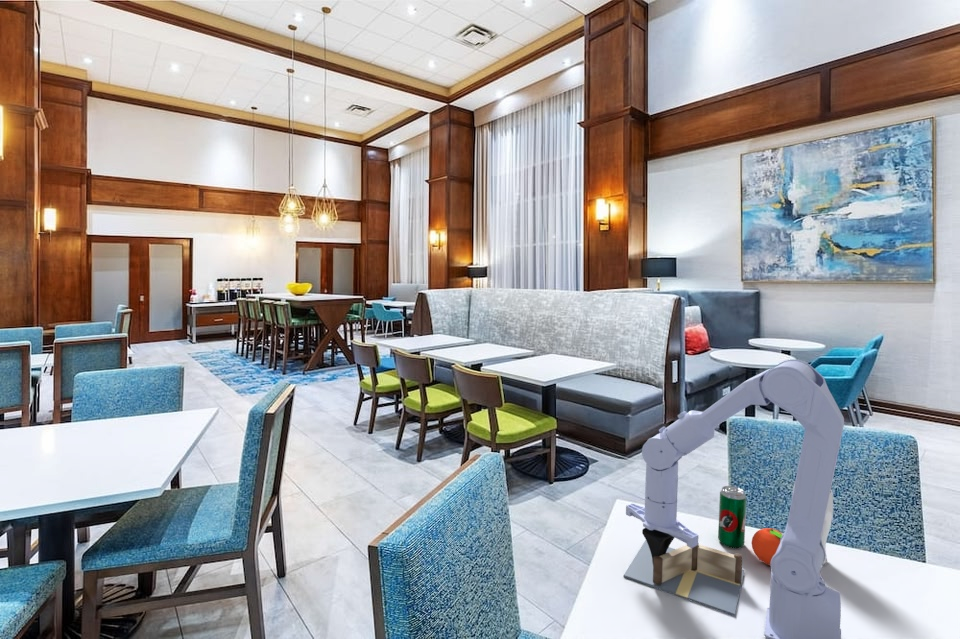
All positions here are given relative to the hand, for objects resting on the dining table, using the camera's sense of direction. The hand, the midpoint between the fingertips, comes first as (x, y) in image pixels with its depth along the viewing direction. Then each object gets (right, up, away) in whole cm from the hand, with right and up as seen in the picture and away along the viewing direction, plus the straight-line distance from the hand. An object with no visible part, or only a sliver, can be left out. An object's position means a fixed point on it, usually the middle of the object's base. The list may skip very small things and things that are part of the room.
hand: (658, 565), depth 91 cm
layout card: (+6, -2, +1) cm, 6 cm away
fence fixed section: (+11, -2, 0) cm, 11 cm away
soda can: (+20, -2, +12) cm, 24 cm away
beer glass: (+34, -2, +7) cm, 34 cm away
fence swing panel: (+3, -2, 0) cm, 3 cm away
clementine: (+25, -2, +4) cm, 25 cm away
